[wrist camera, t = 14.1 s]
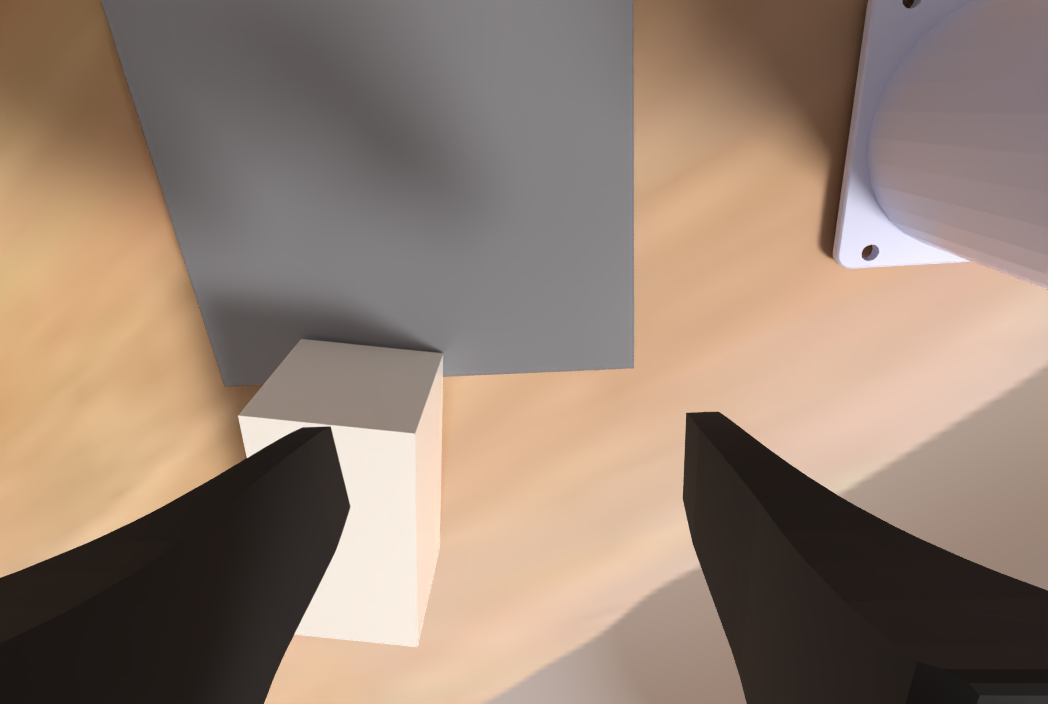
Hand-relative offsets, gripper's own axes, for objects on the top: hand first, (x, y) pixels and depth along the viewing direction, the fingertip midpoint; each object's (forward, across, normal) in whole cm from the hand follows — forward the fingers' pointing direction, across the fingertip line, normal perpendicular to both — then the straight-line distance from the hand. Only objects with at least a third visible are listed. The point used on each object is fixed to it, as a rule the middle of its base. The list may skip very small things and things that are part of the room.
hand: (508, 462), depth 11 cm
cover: (+9, +6, +6) cm, 12 cm away
